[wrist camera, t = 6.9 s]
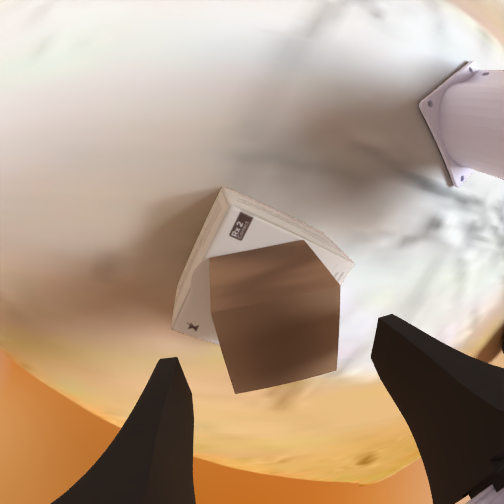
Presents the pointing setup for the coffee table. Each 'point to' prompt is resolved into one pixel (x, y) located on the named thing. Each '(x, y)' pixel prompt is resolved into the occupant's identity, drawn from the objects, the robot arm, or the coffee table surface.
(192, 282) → the small box
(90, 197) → the coffee table surface
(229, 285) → the walnut block
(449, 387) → the robot arm
